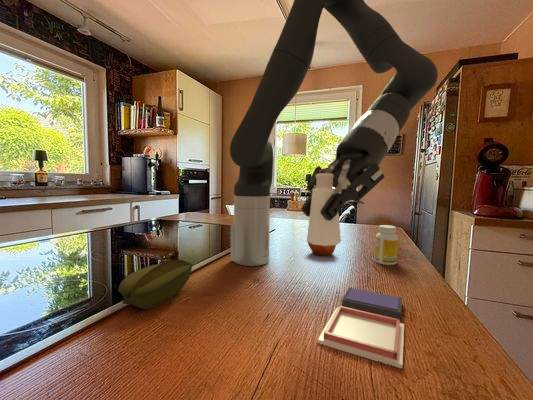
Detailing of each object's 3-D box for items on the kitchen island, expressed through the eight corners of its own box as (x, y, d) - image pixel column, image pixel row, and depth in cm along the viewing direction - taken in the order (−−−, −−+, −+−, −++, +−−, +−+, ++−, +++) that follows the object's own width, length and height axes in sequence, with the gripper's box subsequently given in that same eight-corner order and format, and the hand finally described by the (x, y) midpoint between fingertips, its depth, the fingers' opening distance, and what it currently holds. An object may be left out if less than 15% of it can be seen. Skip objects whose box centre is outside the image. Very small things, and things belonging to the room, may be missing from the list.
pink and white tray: (317, 343, 36) (318, 333, 36) (336, 310, 45) (336, 303, 44) (402, 368, 31) (402, 358, 31) (404, 327, 40) (404, 318, 40)
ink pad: (341, 306, 46) (342, 298, 46) (348, 293, 51) (349, 286, 51) (400, 320, 42) (401, 311, 42) (401, 304, 47) (402, 296, 47)
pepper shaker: (306, 237, 47) (307, 174, 46) (338, 238, 46) (340, 173, 45) (306, 245, 41) (307, 173, 41) (343, 246, 41) (344, 173, 40)
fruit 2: (337, 245, 82) (337, 225, 78) (335, 265, 76) (334, 245, 72) (311, 243, 85) (309, 223, 81) (306, 262, 79) (304, 242, 75)
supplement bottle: (370, 261, 72) (372, 225, 71) (380, 258, 75) (382, 223, 74) (390, 266, 67) (392, 229, 67) (400, 262, 71) (402, 226, 70)
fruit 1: (127, 291, 51) (126, 257, 51) (192, 283, 56) (191, 252, 55) (116, 321, 41) (115, 278, 40) (198, 308, 45) (197, 270, 44)
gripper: (328, 131, 52) (275, 196, 47) (396, 117, 40) (336, 202, 35) (346, 160, 55) (299, 224, 50) (415, 155, 43) (362, 238, 38)
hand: (315, 214), depth 42 cm, fingers closed on pepper shaker, 4 cm apart
